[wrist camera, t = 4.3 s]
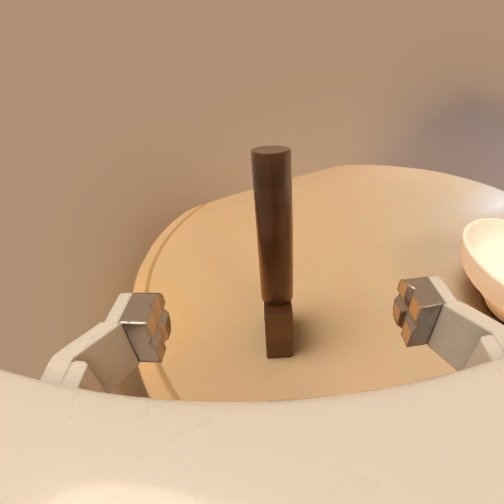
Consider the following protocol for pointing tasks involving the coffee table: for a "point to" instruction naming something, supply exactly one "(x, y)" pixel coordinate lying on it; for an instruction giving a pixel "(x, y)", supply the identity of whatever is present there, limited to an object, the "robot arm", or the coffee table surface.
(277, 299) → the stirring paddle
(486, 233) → the bowl
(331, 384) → the coffee table surface
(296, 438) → the robot arm
